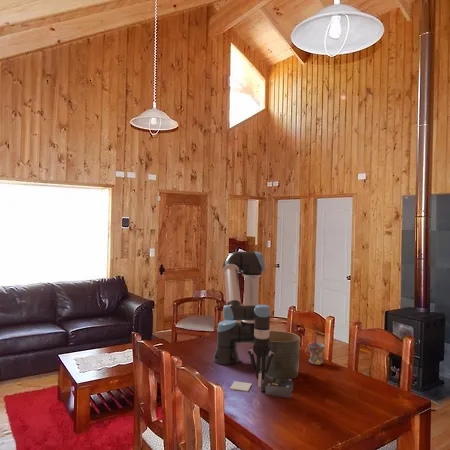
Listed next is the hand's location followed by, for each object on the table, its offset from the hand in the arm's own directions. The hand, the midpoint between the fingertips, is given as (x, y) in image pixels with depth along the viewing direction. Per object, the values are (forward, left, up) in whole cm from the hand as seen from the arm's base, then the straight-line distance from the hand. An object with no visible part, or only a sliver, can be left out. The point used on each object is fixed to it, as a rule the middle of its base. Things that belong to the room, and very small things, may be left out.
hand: (260, 385), depth 192 cm
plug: (+4, 0, -2) cm, 4 cm away
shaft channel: (+9, 0, -2) cm, 10 cm away
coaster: (-10, 0, -2) cm, 10 cm away
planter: (+5, +25, -2) cm, 26 cm away
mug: (+23, +48, -2) cm, 54 cm away
